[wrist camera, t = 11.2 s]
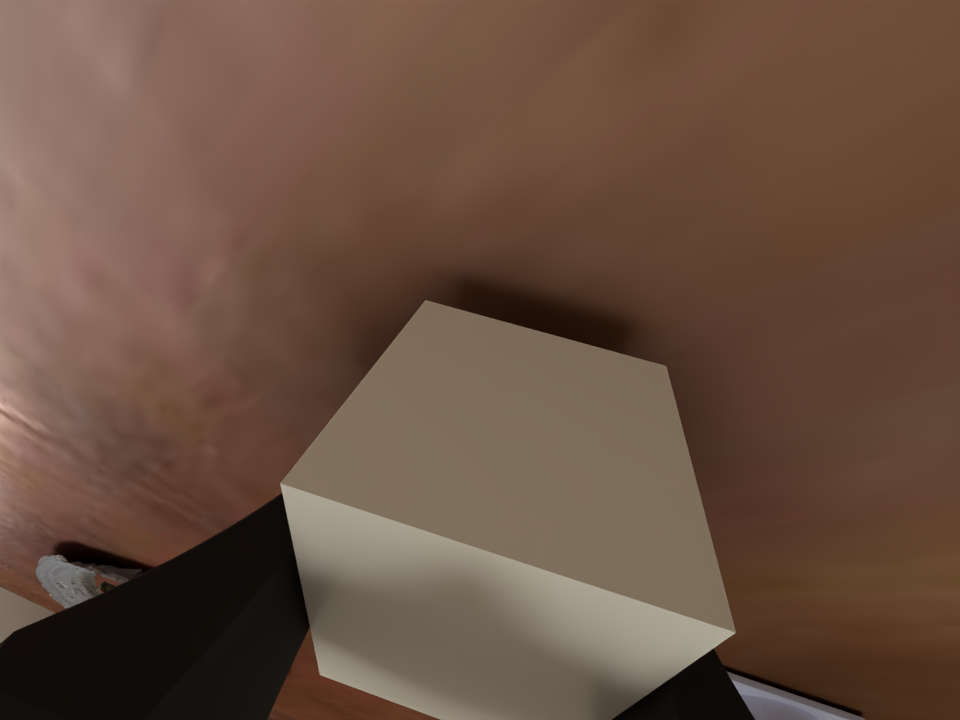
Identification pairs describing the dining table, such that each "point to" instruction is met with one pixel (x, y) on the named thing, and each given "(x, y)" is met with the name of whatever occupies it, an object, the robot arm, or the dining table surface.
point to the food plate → (77, 579)
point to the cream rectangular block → (505, 527)
